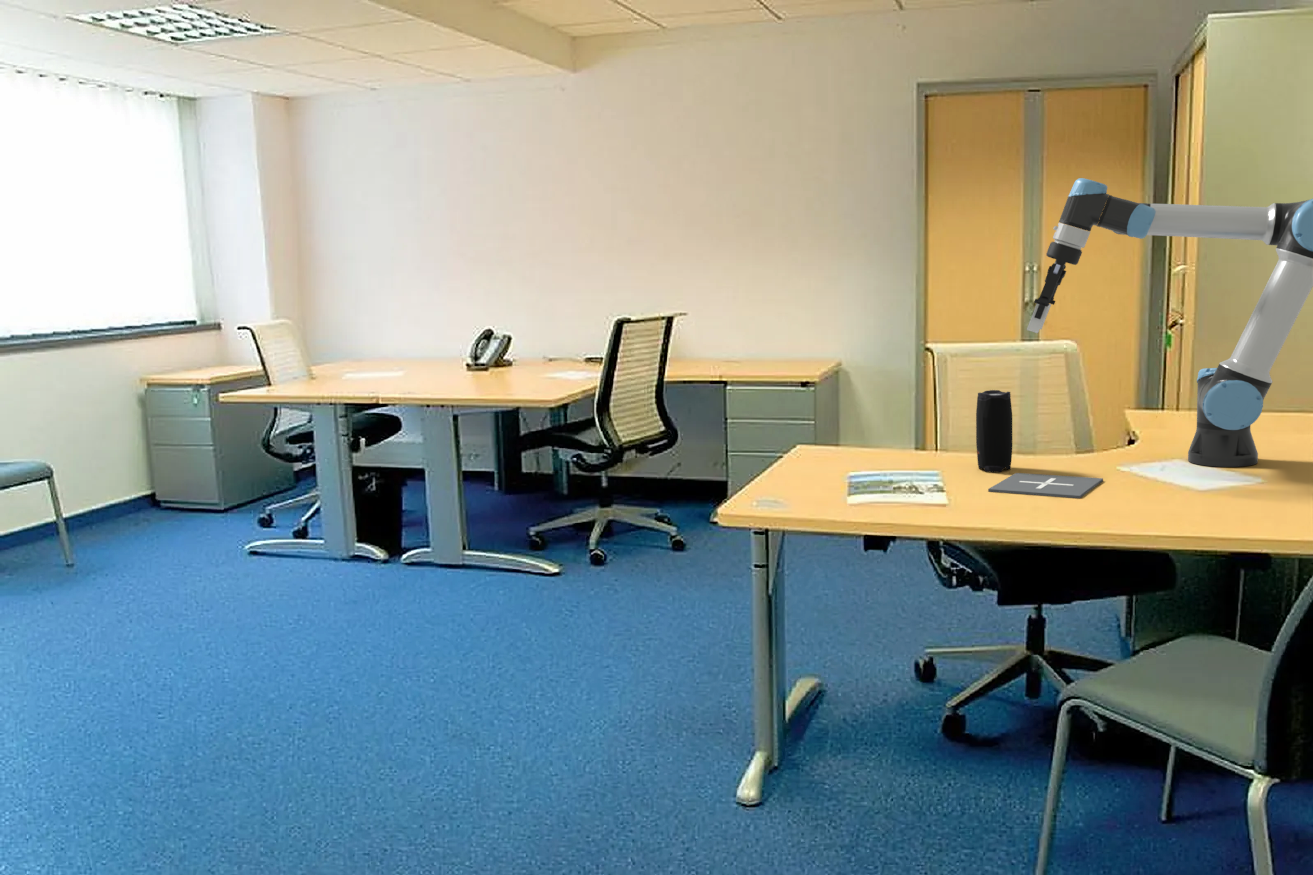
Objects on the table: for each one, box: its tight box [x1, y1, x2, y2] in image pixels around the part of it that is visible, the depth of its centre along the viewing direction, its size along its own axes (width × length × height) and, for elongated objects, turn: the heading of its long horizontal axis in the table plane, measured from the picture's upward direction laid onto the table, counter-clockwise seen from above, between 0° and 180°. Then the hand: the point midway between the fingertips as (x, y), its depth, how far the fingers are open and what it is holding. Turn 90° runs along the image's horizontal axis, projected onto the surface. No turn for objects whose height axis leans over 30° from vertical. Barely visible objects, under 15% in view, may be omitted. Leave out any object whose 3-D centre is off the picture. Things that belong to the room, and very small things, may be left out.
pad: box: [987, 472, 1104, 499], centre depth 249 cm, size 20×20×1 cm
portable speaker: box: [975, 389, 1013, 473], centre depth 270 cm, size 9×9×20 cm
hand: (1034, 329), depth 264 cm, fingers open, 13 cm apart
